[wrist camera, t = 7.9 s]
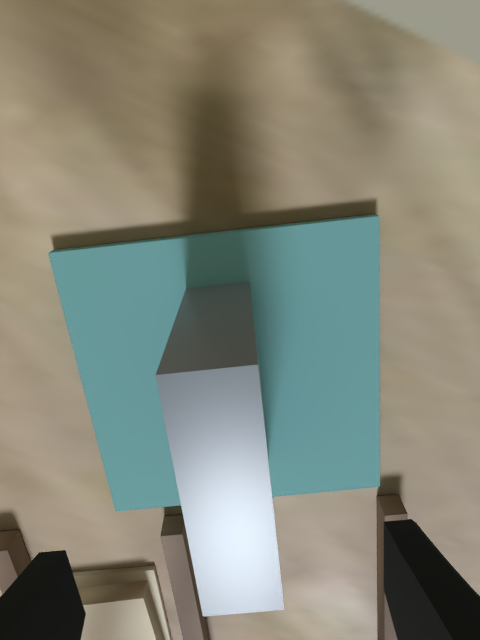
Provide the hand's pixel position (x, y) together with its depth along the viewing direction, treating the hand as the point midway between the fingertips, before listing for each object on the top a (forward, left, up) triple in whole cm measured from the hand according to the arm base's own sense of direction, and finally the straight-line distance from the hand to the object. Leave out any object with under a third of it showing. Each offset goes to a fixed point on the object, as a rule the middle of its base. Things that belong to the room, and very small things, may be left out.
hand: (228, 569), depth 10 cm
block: (0, 0, -9) cm, 9 cm away
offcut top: (+8, +14, -9) cm, 18 cm away
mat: (0, 0, -9) cm, 9 cm away
